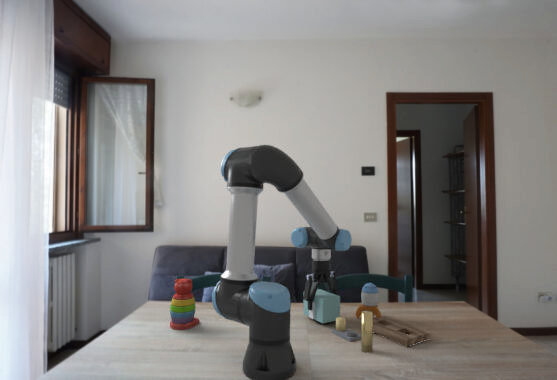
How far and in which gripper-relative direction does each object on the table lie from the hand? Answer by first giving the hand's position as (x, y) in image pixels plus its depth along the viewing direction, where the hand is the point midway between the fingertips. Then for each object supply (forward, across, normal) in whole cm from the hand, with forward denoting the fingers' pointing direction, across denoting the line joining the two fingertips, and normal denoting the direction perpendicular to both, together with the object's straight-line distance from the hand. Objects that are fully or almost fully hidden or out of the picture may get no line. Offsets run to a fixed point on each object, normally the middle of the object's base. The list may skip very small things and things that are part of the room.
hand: (321, 316), depth 143 cm
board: (+2, +14, -25) cm, 29 cm away
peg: (+2, -5, -30) cm, 30 cm away
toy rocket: (+2, +18, -7) cm, 19 cm away
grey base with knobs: (+2, -2, -17) cm, 17 cm away
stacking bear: (+2, -49, +22) cm, 54 cm away
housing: (0, 0, 0) cm, 0 cm away
